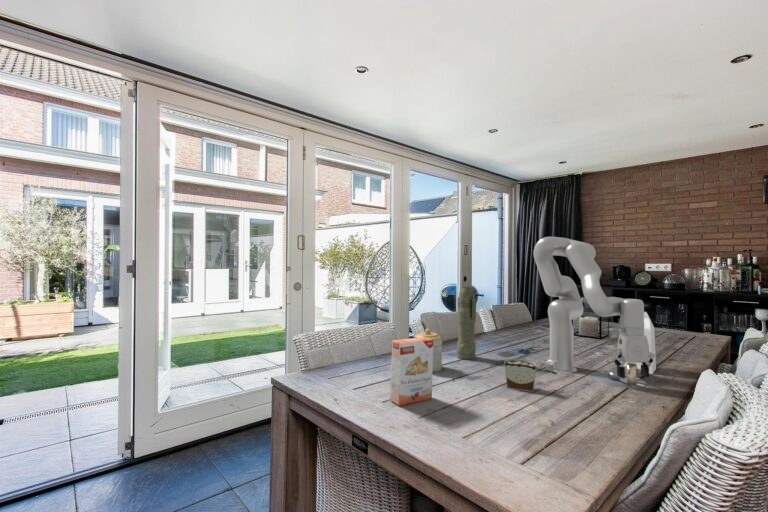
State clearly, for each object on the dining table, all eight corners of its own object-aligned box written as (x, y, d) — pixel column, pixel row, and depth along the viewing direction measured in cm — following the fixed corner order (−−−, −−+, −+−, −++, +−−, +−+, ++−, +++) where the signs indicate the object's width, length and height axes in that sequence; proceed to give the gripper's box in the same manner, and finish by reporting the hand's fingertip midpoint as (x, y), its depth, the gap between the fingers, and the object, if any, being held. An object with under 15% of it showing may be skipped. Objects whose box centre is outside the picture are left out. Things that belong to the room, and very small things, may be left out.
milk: (656, 368, 169) (656, 311, 169) (652, 374, 161) (652, 314, 161) (625, 363, 177) (625, 309, 178) (620, 368, 169) (620, 311, 169)
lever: (604, 375, 152) (604, 355, 152) (618, 375, 152) (618, 355, 152) (627, 385, 139) (627, 364, 139) (642, 385, 140) (642, 364, 140)
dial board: (610, 391, 138) (610, 387, 138) (578, 374, 158) (578, 371, 158) (660, 390, 140) (660, 386, 140) (622, 374, 160) (622, 370, 160)
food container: (538, 387, 142) (538, 361, 142) (537, 392, 136) (537, 365, 136) (504, 382, 147) (505, 357, 147) (502, 387, 142) (503, 361, 142)
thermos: (469, 361, 177) (470, 288, 177) (451, 356, 186) (452, 286, 187) (481, 358, 182) (482, 287, 182) (463, 353, 191) (464, 286, 192)
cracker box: (399, 407, 121) (400, 343, 121) (389, 401, 126) (390, 339, 126) (433, 399, 128) (433, 339, 128) (422, 393, 133) (423, 335, 134)
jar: (446, 367, 167) (447, 328, 167) (434, 374, 156) (435, 332, 156) (421, 362, 174) (421, 325, 174) (407, 369, 163) (408, 329, 163)
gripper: (617, 333, 137) (618, 380, 136) (661, 332, 138) (662, 378, 138) (604, 330, 144) (604, 374, 144) (645, 329, 146) (646, 373, 145)
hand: (633, 376), depth 141 cm, fingers open, 9 cm apart
